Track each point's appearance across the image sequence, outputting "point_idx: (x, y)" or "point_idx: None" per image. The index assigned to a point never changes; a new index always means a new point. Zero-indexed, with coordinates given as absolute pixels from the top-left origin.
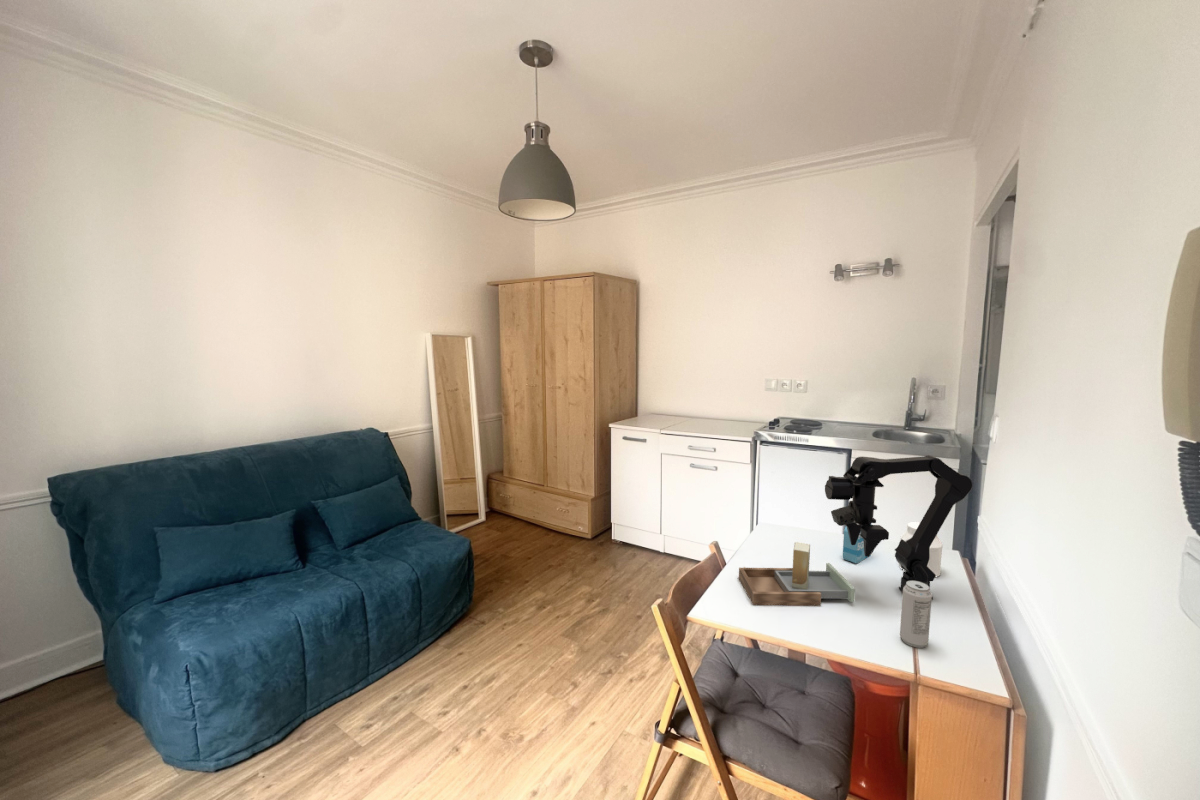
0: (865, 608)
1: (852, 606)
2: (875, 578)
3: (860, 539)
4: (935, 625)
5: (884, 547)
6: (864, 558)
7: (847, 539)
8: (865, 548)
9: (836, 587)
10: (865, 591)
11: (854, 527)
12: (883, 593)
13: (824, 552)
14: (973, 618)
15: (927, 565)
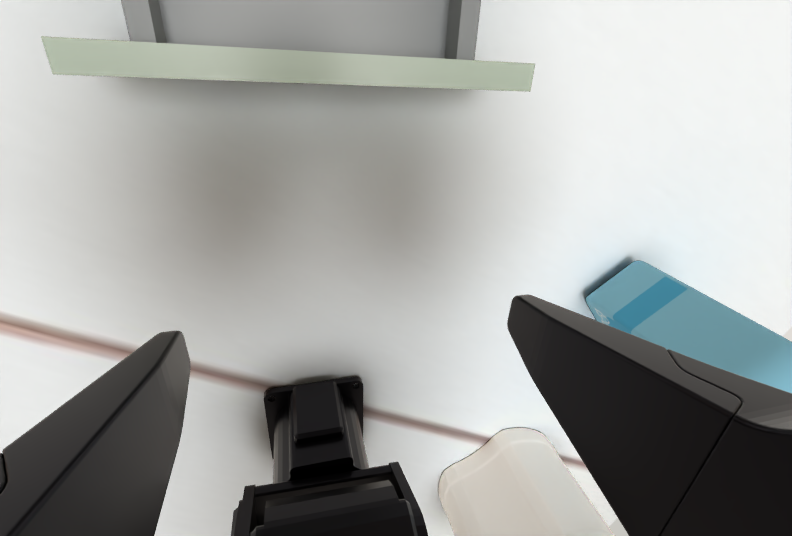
0: (106, 139)
1: None
2: (454, 323)
3: None
4: (14, 403)
5: None
6: None
7: (717, 327)
8: (39, 424)
9: (277, 22)
10: (329, 230)
11: (716, 516)
12: (313, 304)
13: (715, 204)
14: None
15: (459, 523)
